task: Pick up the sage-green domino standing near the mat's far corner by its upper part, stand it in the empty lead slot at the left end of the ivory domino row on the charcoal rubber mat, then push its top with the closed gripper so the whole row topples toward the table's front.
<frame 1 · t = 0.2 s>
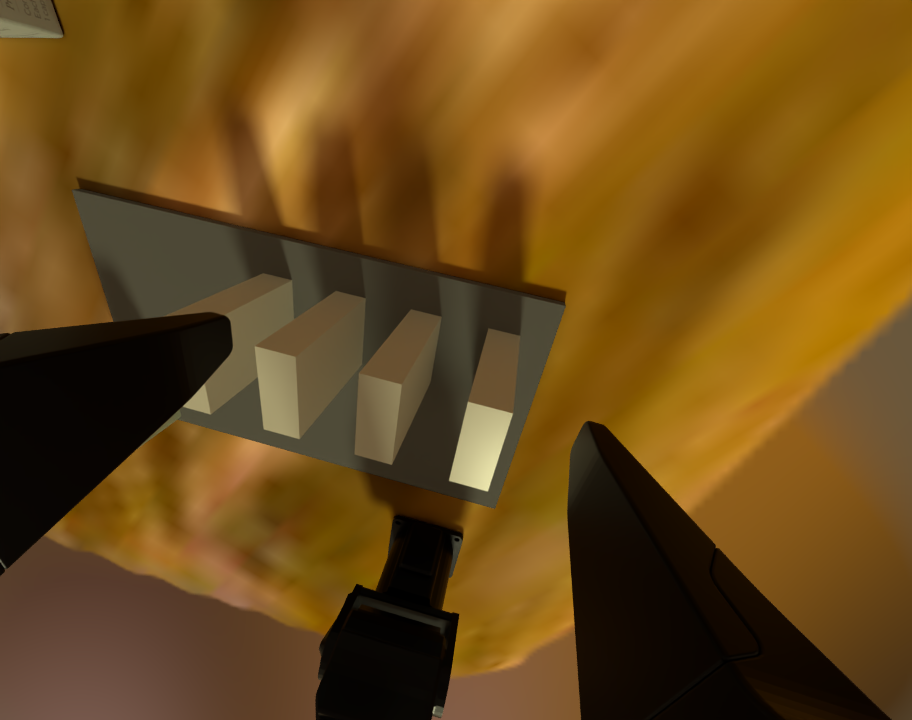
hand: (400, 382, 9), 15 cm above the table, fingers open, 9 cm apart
domino 5: (495, 366, 24), point 1 cm above the table, touching mat
mat: (313, 364, 28), on the table
domino 4: (421, 347, 25), point 1 cm above the table, touching mat
domino 3: (349, 329, 25), point 1 cm above the table, touching mat
domino 2: (280, 312, 25), point 1 cm above the table, touching mat
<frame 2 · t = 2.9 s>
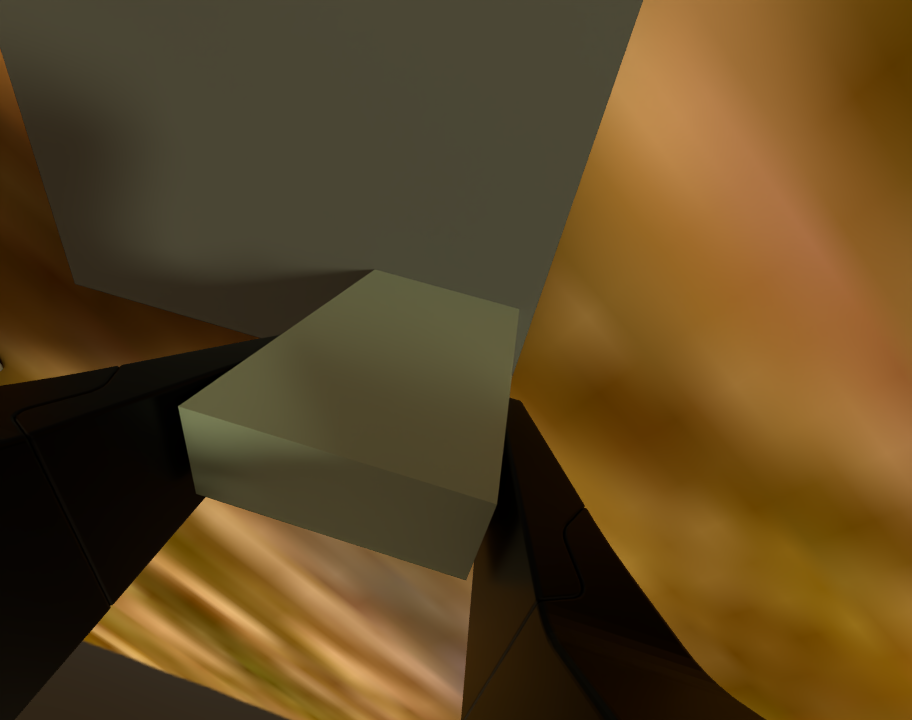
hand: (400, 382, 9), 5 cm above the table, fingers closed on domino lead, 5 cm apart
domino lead: (440, 316, 13), point 1 cm above the table, touching gripper, mat
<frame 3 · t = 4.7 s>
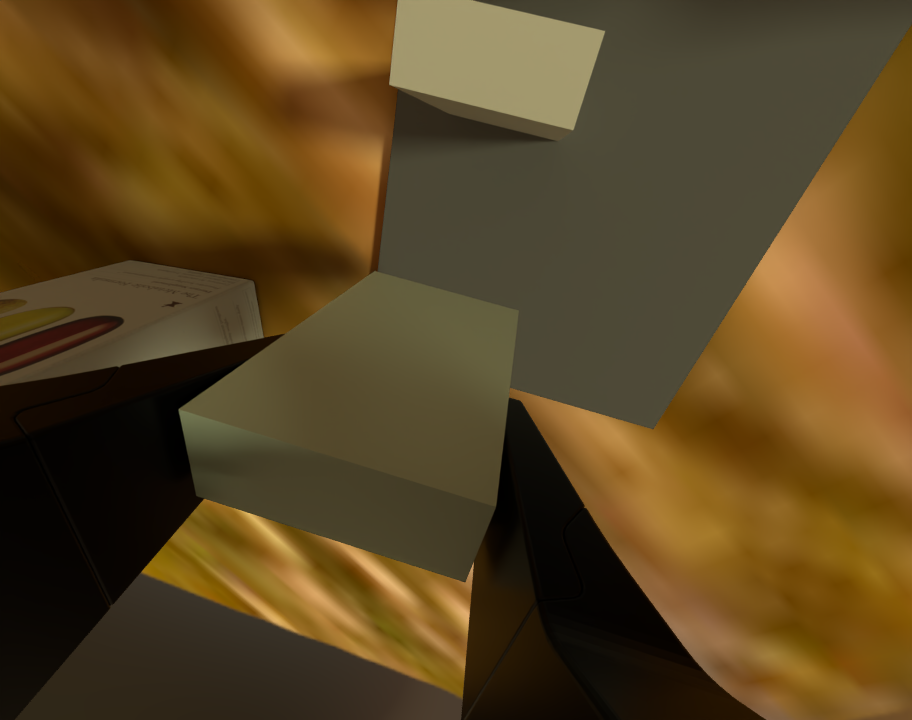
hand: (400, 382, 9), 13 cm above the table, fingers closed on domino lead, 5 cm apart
supplement box: (208, 331, 26), on the table
mat: (618, 68, 16), on the table
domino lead: (440, 317, 13), point 8 cm above the table, touching gripper
domino 2: (509, 101, 16), point 1 cm above the table, touching mat
when the fingers open (6 cm above the table, at t = 6.4 s): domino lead stays where it is, resting on mat.
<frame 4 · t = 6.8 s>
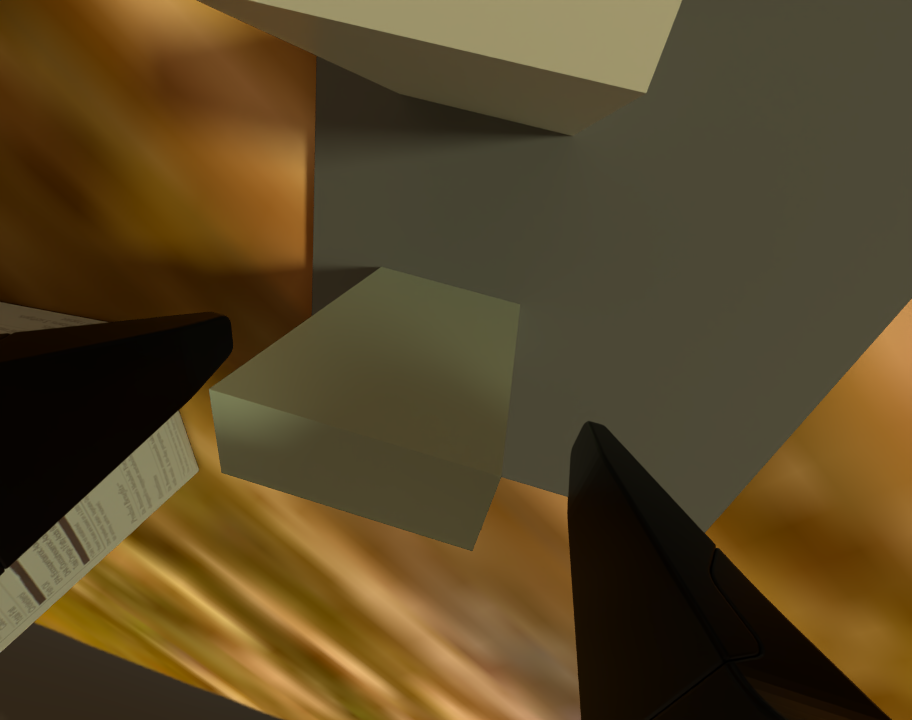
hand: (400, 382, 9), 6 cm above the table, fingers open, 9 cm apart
supplement box: (108, 389, 20), on the table
mat: (674, 12, 9), on the table
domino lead: (444, 311, 13), point 1 cm above the table, touching mat
domino 2: (494, 70, 10), point 1 cm above the table, touching mat
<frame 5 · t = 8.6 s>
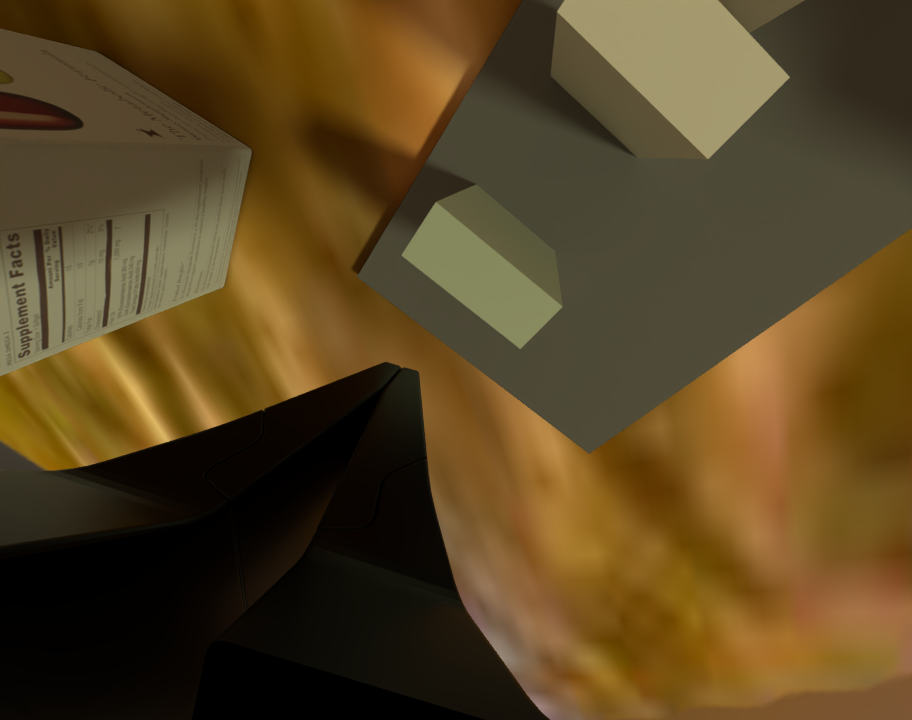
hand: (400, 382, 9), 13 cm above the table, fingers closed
supplement box: (170, 182, 22), on the table
mat: (719, 115, 15), on the table
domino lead: (503, 234, 19), point 1 cm above the table, touching mat
domino 2: (613, 94, 15), point 1 cm above the table, touching mat
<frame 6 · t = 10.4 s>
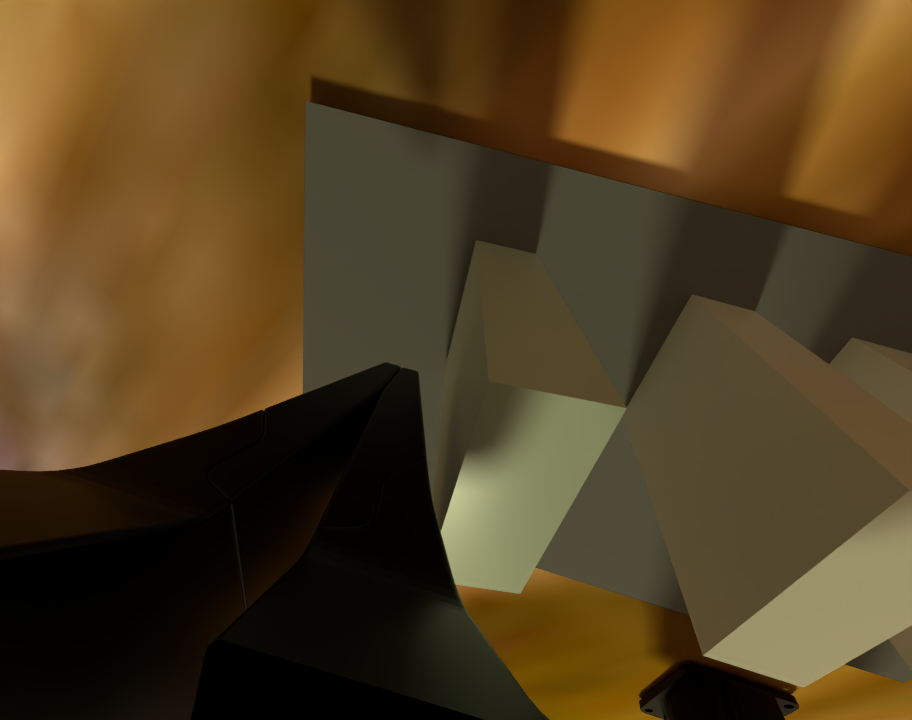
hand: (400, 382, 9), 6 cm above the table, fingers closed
mat: (674, 454, 16), on the table
domino 3: (826, 408, 13), point 1 cm above the table, touching mat
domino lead: (486, 316, 13), point 1 cm above the table, tilted 9°, touching gripper, mat
domino 2: (682, 368, 13), point 1 cm above the table, touching mat
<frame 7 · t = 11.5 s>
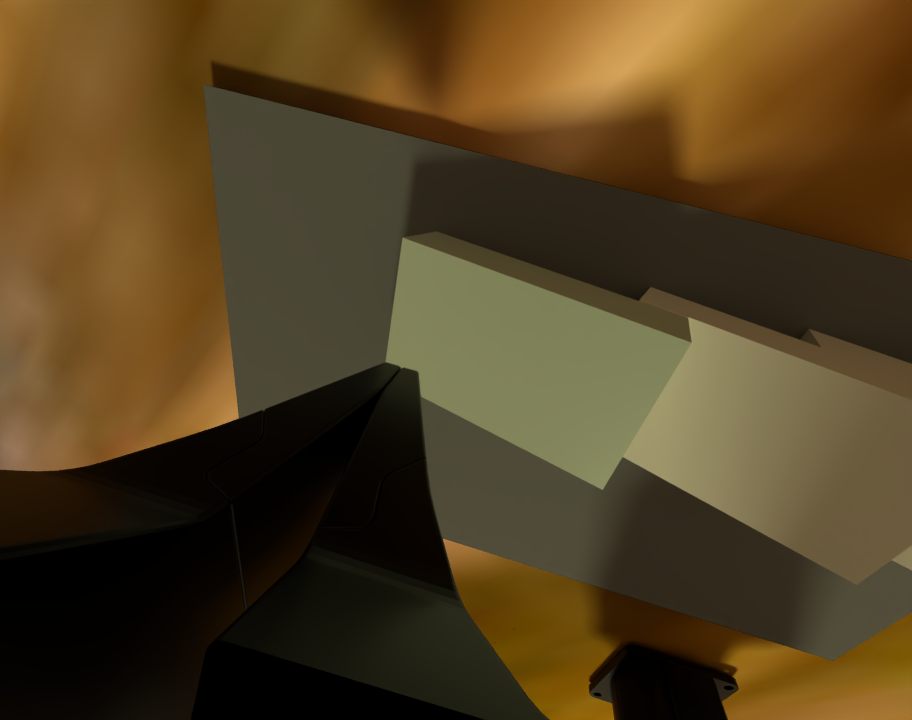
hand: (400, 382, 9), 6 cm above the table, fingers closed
mat: (589, 430, 16), on the table
domino 3: (762, 403, 12), point 2 cm above the table, tilted 67°, touching domino 2, domino 4, mat
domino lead: (409, 306, 13), point 2 cm above the table, tilted 73°, touching domino 2, mat
domino 2: (611, 361, 13), point 2 cm above the table, tilted 67°, touching domino 3, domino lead, mat
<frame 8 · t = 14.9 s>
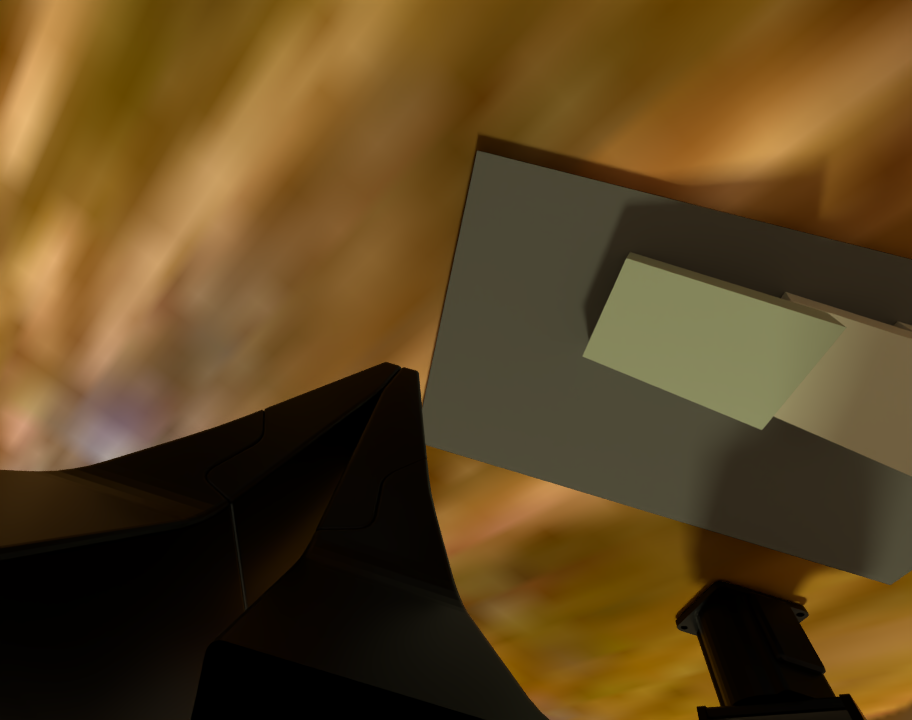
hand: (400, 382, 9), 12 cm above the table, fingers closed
mat: (715, 399, 21), on the table
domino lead: (605, 305, 18), point 2 cm above the table, tilted 73°, touching domino 2, mat
domino 2: (753, 344, 18), point 2 cm above the table, tilted 67°, touching domino 3, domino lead, mat
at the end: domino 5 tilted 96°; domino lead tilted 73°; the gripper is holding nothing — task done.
